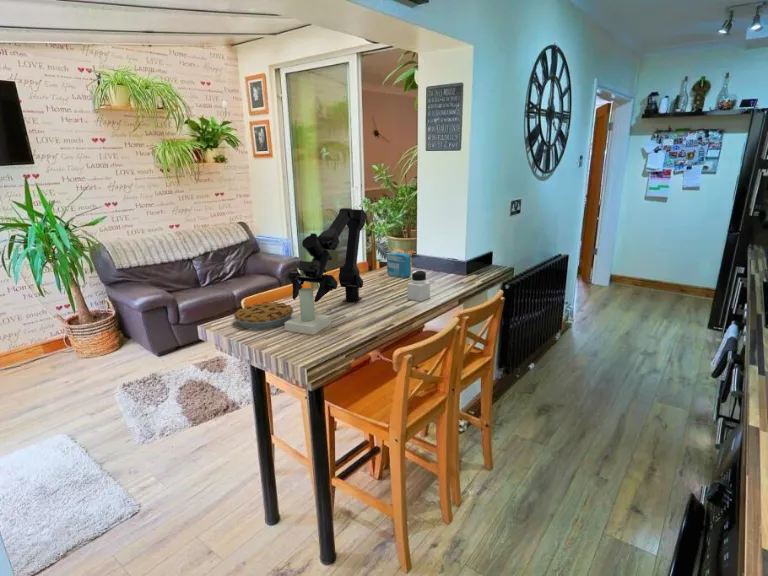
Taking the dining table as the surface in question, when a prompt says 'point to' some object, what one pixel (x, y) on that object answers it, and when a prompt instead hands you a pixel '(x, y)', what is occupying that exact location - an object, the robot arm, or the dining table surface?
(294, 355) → the dining table surface
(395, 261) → the data package
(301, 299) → the ball
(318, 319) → the stand
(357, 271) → the robot arm
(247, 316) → the pie
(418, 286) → the medicine bottle
